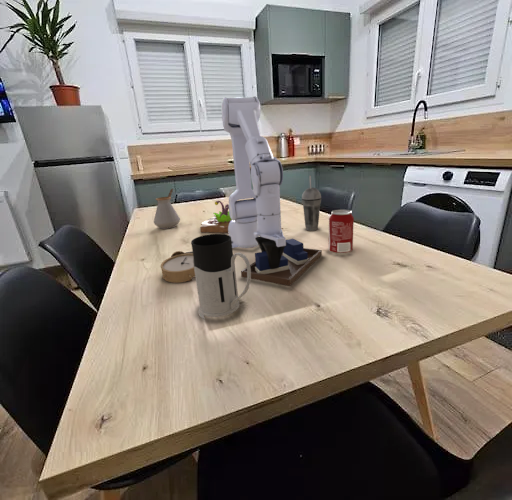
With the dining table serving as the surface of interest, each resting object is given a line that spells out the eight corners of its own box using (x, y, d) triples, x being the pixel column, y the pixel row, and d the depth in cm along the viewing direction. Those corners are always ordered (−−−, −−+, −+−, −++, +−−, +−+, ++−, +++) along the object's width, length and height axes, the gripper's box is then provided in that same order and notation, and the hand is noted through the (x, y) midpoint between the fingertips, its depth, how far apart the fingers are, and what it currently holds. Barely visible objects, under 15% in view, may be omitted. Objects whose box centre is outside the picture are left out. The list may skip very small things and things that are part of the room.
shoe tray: (241, 279, 74) (240, 271, 73) (280, 252, 90) (279, 245, 90) (289, 289, 67) (289, 279, 66) (321, 257, 84) (321, 250, 83)
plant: (209, 221, 136) (206, 197, 132) (251, 220, 133) (249, 195, 129) (195, 234, 117) (191, 206, 114) (243, 232, 114) (240, 203, 111)
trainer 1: (259, 275, 73) (258, 257, 72) (255, 270, 76) (253, 253, 75) (289, 269, 76) (288, 251, 74) (283, 264, 79) (282, 247, 77)
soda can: (353, 255, 83) (355, 214, 79) (328, 255, 85) (329, 214, 81) (351, 248, 89) (352, 208, 86) (328, 248, 91) (328, 209, 87)
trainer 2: (282, 256, 85) (282, 240, 83) (293, 253, 86) (292, 238, 84) (297, 265, 78) (297, 247, 76) (308, 262, 79) (308, 245, 77)
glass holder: (222, 295, 66) (214, 230, 62) (270, 315, 57) (265, 241, 52) (189, 311, 61) (178, 241, 56) (236, 337, 51) (227, 256, 46)
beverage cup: (324, 227, 113) (324, 173, 107) (317, 232, 108) (317, 176, 101) (306, 225, 117) (305, 174, 111) (298, 230, 112) (297, 176, 105)
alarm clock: (153, 273, 74) (172, 244, 87) (158, 289, 76) (175, 259, 89) (197, 272, 72) (209, 243, 85) (200, 288, 75) (212, 257, 88)
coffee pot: (177, 229, 127) (171, 194, 122) (151, 230, 128) (144, 196, 123) (188, 217, 147) (184, 187, 143) (166, 219, 148) (160, 189, 143)
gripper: (244, 210, 77) (248, 259, 81) (263, 221, 63) (267, 279, 68) (269, 206, 79) (272, 254, 83) (293, 217, 65) (295, 273, 70)
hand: (271, 265), depth 76 cm, fingers closed on trainer 1, 3 cm apart
